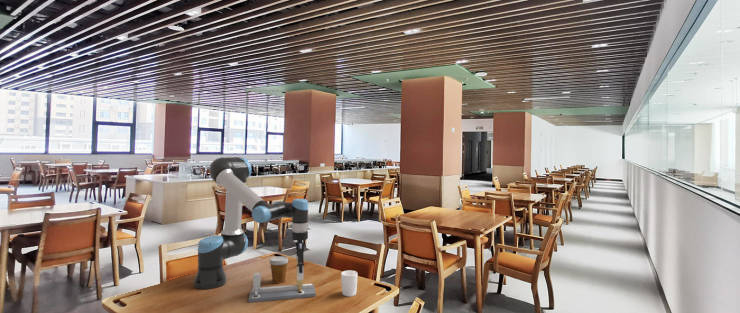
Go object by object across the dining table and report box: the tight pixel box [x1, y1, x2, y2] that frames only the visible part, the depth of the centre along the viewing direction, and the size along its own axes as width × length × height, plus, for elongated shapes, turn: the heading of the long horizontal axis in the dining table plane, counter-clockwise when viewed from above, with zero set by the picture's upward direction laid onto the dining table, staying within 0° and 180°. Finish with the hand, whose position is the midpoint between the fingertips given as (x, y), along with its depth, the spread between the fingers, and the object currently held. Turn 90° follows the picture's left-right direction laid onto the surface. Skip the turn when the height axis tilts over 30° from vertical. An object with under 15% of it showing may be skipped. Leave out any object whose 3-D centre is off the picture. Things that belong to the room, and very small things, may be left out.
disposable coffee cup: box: [269, 255, 289, 284], centre depth 188 cm, size 10×10×12 cm
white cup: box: [340, 269, 359, 297], centre depth 172 cm, size 8×8×10 cm
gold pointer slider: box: [295, 258, 304, 292], centre depth 172 cm, size 3×8×13 cm, turn 14°
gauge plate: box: [248, 272, 317, 303], centre depth 171 cm, size 30×12×10 cm, turn 104°
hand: (299, 274), depth 174 cm, fingers open, 13 cm apart
